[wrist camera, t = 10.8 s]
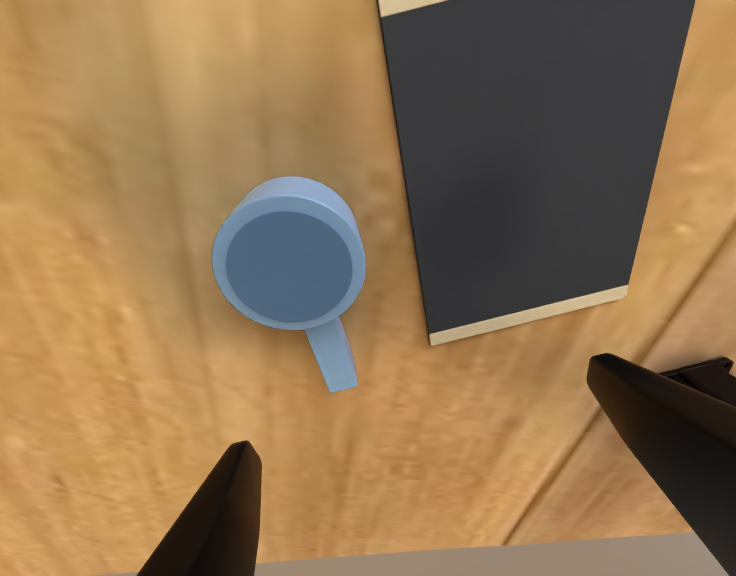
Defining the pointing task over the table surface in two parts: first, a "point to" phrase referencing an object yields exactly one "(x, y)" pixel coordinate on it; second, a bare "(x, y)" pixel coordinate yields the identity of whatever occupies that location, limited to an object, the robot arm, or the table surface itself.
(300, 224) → the scoop
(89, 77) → the table surface
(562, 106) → the dark gray flat panel
